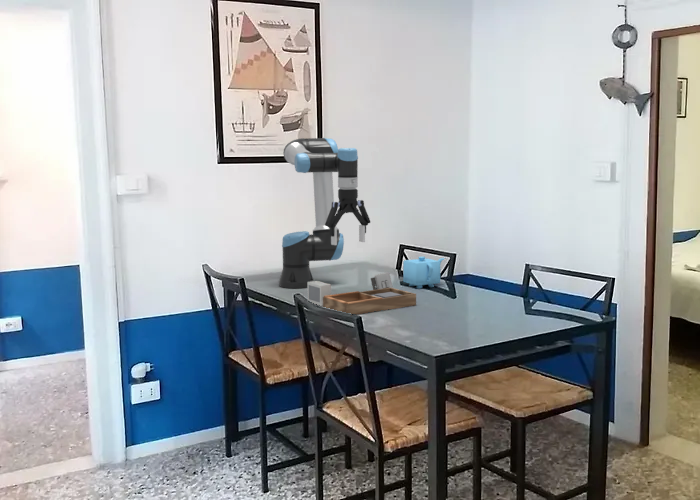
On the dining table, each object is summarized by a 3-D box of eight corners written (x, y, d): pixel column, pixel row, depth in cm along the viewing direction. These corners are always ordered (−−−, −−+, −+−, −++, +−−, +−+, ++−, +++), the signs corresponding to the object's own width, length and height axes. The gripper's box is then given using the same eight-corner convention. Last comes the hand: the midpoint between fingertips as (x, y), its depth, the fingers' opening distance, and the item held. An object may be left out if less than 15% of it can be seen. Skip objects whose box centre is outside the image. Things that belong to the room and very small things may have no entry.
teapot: (419, 290, 321) (419, 260, 319) (400, 284, 335) (400, 255, 333) (454, 286, 329) (455, 256, 328) (434, 280, 343) (434, 252, 341)
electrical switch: (381, 298, 306) (379, 275, 305) (370, 297, 309) (369, 275, 308) (394, 294, 313) (392, 272, 312) (384, 294, 316) (382, 272, 316)
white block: (307, 302, 299) (307, 282, 298) (317, 300, 302) (317, 280, 301) (321, 306, 291) (320, 285, 290) (331, 304, 294) (331, 284, 293)
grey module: (370, 305, 294) (370, 294, 293) (391, 302, 299) (391, 291, 299) (384, 309, 286) (384, 297, 286) (405, 306, 292) (405, 294, 291)
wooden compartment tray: (322, 308, 287) (322, 296, 286) (390, 298, 305) (390, 286, 304) (346, 316, 274) (346, 303, 273) (416, 305, 292) (416, 292, 291)
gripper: (327, 190, 282) (327, 247, 285) (379, 187, 297) (379, 241, 300) (315, 189, 288) (316, 245, 291) (367, 186, 303) (367, 239, 306)
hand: (348, 243), depth 296 cm, fingers open, 13 cm apart
